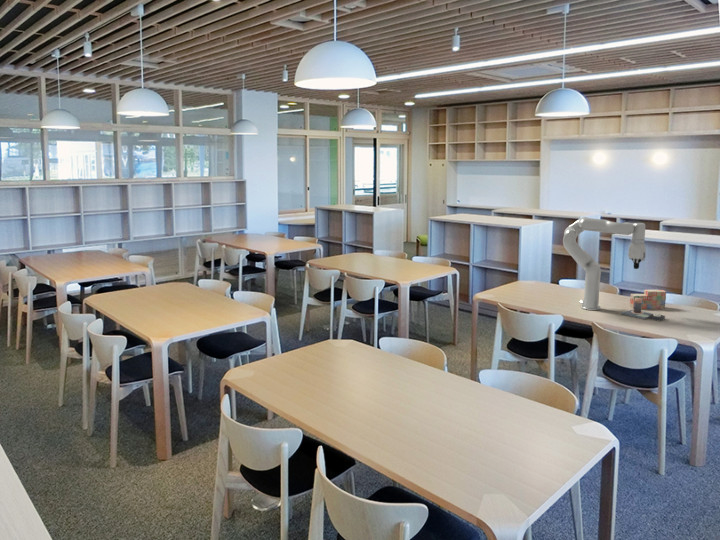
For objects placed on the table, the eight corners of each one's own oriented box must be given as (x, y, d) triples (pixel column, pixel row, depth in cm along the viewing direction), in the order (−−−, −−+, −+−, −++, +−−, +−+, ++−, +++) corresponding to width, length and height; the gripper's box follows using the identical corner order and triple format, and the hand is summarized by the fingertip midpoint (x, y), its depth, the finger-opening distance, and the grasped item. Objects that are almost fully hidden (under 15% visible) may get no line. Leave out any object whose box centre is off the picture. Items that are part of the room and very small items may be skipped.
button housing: (648, 318, 382) (649, 315, 381) (655, 317, 385) (655, 313, 384) (658, 320, 376) (658, 317, 376) (664, 319, 379) (665, 315, 379)
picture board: (620, 313, 395) (620, 312, 394) (633, 310, 402) (633, 309, 401) (644, 319, 380) (644, 317, 380) (657, 316, 387) (657, 314, 387)
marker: (632, 311, 395) (633, 298, 393) (636, 310, 397) (637, 297, 395) (638, 313, 391) (639, 299, 389) (642, 312, 393) (643, 298, 392)
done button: (651, 317, 381) (651, 313, 381) (655, 316, 383) (655, 312, 383) (658, 319, 377) (658, 315, 377) (662, 318, 380) (662, 314, 379)
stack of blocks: (633, 308, 407) (634, 291, 405) (629, 306, 413) (630, 289, 411) (665, 308, 405) (666, 291, 403) (661, 306, 412) (662, 289, 409)
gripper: (624, 240, 398) (622, 267, 401) (645, 243, 385) (643, 270, 389) (631, 239, 401) (629, 266, 405) (652, 242, 389) (649, 269, 392)
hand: (636, 268), depth 397 cm, fingers closed
